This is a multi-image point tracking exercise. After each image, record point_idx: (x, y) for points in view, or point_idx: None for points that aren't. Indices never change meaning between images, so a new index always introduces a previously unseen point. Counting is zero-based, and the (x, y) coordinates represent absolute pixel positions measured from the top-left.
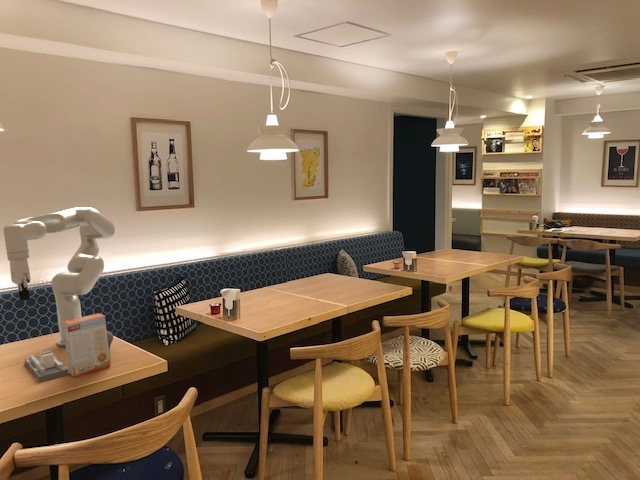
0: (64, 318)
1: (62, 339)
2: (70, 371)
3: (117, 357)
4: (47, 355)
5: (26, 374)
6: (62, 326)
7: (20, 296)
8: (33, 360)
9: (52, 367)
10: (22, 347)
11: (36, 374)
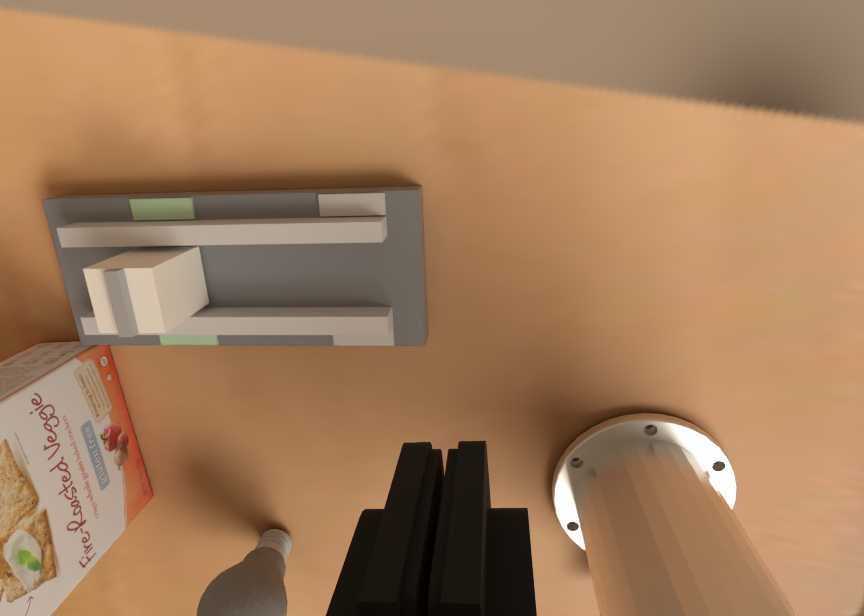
0: (633, 588)
1: (627, 454)
2: (65, 347)
3: (203, 552)
4: (92, 297)
5: (226, 158)
6: (637, 523)
7: (389, 497)
8: (260, 223)
9: None
10: (805, 234)
11: (101, 197)
